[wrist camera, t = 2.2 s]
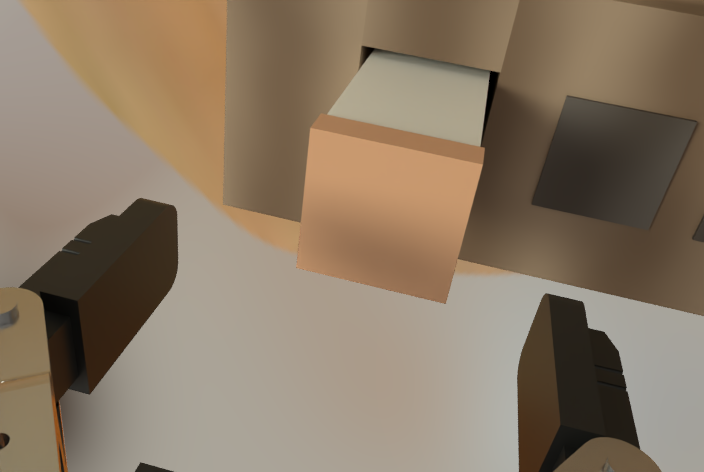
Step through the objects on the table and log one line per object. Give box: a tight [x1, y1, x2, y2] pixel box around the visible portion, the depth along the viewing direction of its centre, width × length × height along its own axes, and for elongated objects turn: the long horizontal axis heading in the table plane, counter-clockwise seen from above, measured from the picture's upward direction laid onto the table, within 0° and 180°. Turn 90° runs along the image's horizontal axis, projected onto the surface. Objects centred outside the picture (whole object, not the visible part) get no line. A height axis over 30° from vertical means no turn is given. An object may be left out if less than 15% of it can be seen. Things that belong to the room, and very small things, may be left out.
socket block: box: [223, 0, 704, 316], centre depth 24 cm, size 22×10×6 cm, turn 82°
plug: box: [296, 48, 490, 304], centre depth 21 cm, size 4×4×12 cm
